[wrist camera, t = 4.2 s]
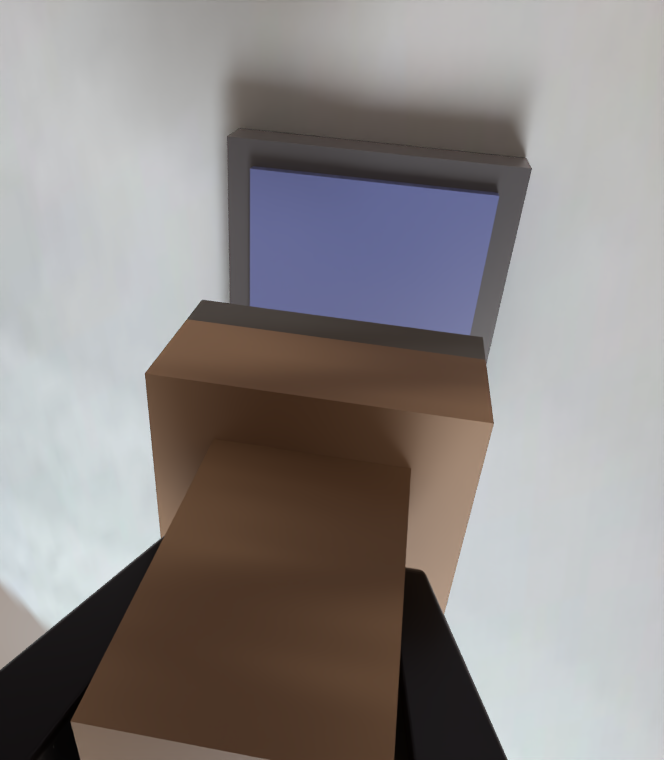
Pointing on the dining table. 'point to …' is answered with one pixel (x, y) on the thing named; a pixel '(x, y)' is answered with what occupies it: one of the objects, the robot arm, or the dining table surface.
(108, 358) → the dining table surface
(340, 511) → the stamp
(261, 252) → the ink pad
